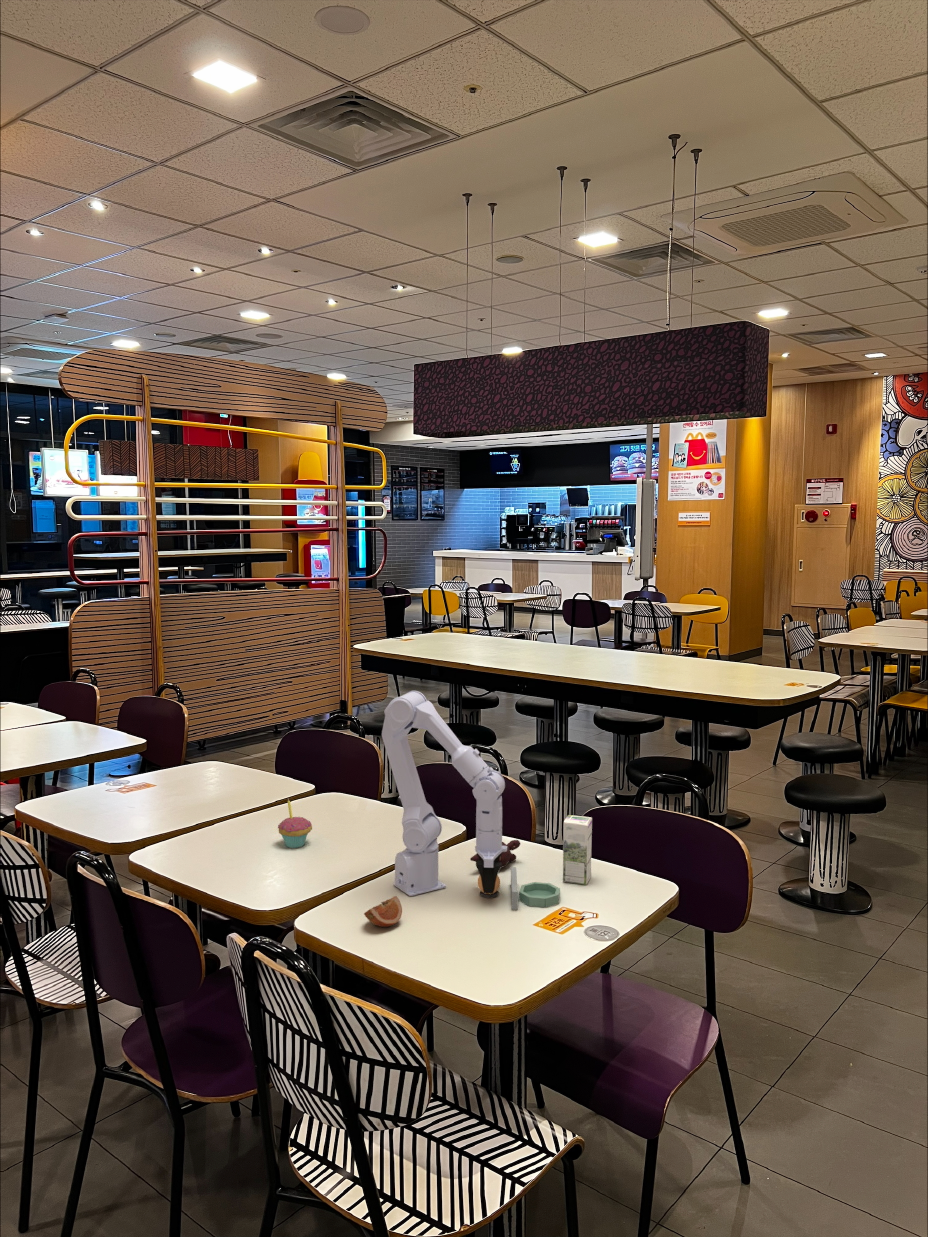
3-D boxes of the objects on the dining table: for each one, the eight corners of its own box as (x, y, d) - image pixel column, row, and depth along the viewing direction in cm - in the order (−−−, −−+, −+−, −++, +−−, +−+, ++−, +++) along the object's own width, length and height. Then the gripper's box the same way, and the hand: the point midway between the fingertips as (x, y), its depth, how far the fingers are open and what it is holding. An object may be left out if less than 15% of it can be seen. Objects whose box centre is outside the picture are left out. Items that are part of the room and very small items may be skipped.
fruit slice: (380, 937, 175) (380, 912, 174) (356, 927, 179) (355, 904, 178) (408, 922, 181) (408, 899, 181) (384, 914, 185) (384, 891, 185)
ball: (485, 899, 192) (485, 877, 191) (473, 891, 196) (473, 870, 196) (504, 894, 195) (504, 872, 194) (491, 887, 199) (491, 865, 198)
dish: (535, 910, 187) (535, 901, 187) (512, 896, 194) (512, 887, 194) (567, 901, 192) (567, 892, 191) (543, 888, 199) (543, 879, 199)
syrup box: (591, 876, 206) (592, 816, 204) (586, 886, 200) (587, 824, 199) (567, 873, 208) (568, 813, 206) (562, 883, 202) (562, 821, 201)
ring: (486, 899, 193) (486, 896, 193) (476, 893, 196) (476, 890, 196) (501, 895, 195) (501, 892, 195) (491, 889, 198) (491, 887, 198)
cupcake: (271, 847, 224) (271, 801, 223) (290, 837, 232) (289, 792, 231) (300, 852, 221) (300, 805, 220) (318, 841, 229) (318, 796, 228)
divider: (517, 910, 187) (517, 891, 187) (511, 910, 187) (511, 891, 187) (516, 884, 201) (516, 867, 201) (510, 884, 201) (510, 867, 201)
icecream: (483, 854, 203) (531, 845, 212) (464, 837, 208) (511, 830, 217) (477, 880, 204) (524, 871, 214) (458, 863, 210) (504, 855, 219)
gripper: (507, 839, 187) (507, 901, 188) (506, 817, 201) (506, 875, 202) (474, 838, 187) (474, 900, 188) (476, 817, 201) (475, 874, 202)
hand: (488, 887), depth 195 cm, fingers closed on ball, 5 cm apart
